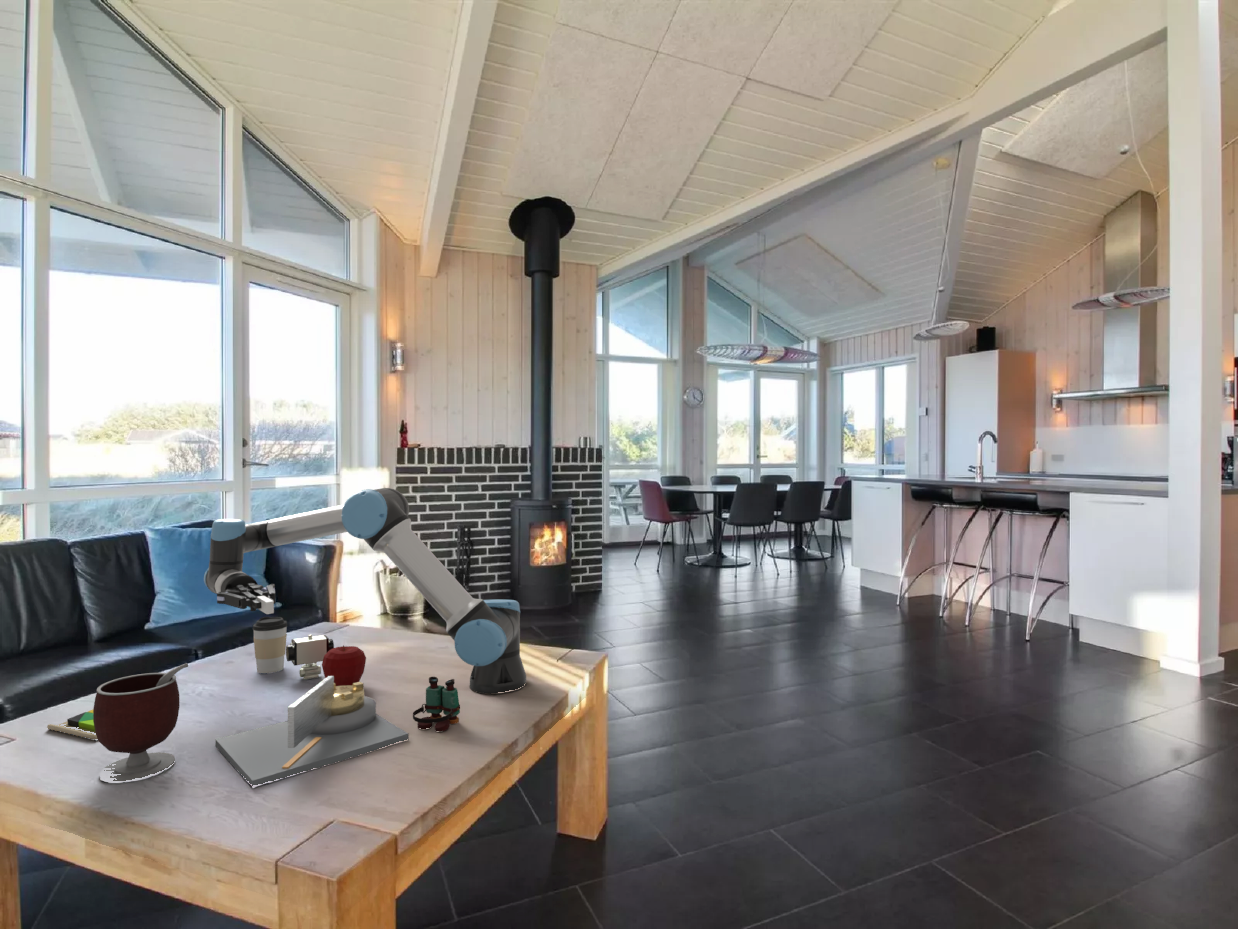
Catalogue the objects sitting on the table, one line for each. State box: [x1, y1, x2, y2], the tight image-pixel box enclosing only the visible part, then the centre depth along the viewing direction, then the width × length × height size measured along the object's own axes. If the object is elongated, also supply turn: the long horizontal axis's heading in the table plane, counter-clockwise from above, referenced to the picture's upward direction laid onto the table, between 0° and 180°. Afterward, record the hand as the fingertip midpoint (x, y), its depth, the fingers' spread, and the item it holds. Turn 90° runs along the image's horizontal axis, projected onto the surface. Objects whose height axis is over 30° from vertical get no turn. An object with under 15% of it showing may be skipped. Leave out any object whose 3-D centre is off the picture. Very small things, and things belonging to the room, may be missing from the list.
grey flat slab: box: [214, 695, 409, 786], centre depth 146 cm, size 31×26×4 cm
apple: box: [321, 644, 367, 686], centre depth 181 cm, size 11×11×12 cm
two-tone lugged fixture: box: [287, 676, 365, 748], centre depth 146 cm, size 28×11×8 cm, turn 1°
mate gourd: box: [92, 662, 189, 781], centre depth 134 cm, size 16×14×20 cm
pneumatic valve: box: [285, 634, 335, 681], centre depth 190 cm, size 6×12×12 cm, turn 125°
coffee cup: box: [252, 616, 288, 674], centre depth 197 cm, size 9×9×15 cm
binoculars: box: [412, 676, 461, 732], centre depth 155 cm, size 9×11×10 cm
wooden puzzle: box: [46, 709, 97, 740], centre depth 159 cm, size 18×19×4 cm
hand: (270, 607), depth 151 cm, fingers closed
